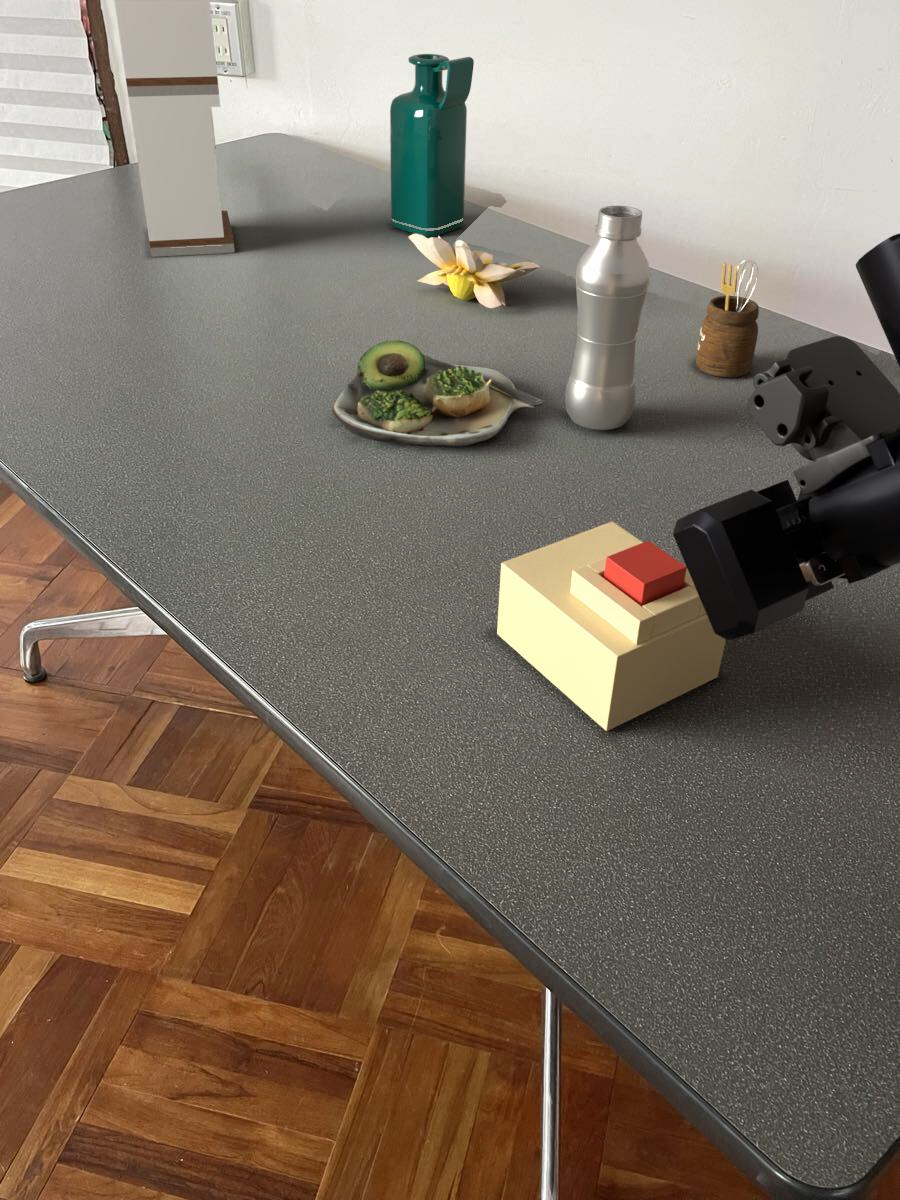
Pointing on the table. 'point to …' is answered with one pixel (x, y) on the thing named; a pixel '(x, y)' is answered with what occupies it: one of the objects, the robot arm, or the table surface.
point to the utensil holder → (728, 331)
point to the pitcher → (430, 146)
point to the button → (645, 573)
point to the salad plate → (425, 399)
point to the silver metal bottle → (608, 321)
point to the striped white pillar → (175, 122)
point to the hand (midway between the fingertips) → (733, 562)
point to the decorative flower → (468, 270)
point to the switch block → (604, 629)
